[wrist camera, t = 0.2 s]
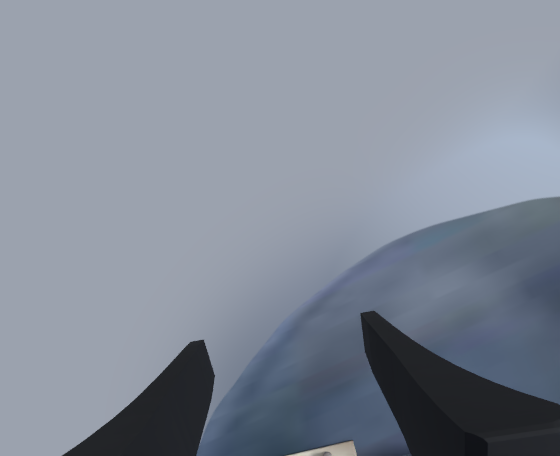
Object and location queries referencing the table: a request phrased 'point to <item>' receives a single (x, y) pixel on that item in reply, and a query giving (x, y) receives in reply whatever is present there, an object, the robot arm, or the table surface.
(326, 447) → the birch pin tray
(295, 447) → the table surface
